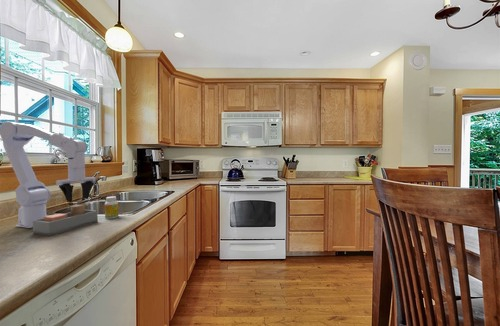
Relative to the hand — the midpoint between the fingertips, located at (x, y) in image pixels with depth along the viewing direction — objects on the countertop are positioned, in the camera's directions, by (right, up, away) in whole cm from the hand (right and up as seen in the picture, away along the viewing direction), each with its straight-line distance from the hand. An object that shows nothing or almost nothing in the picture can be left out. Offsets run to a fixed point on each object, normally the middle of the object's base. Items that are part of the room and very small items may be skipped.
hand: (77, 200), depth 95 cm
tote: (-1, -11, -4) cm, 11 cm away
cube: (-2, -10, -8) cm, 13 cm away
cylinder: (0, -9, 0) cm, 9 cm away
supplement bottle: (+8, -10, +11) cm, 17 cm away
